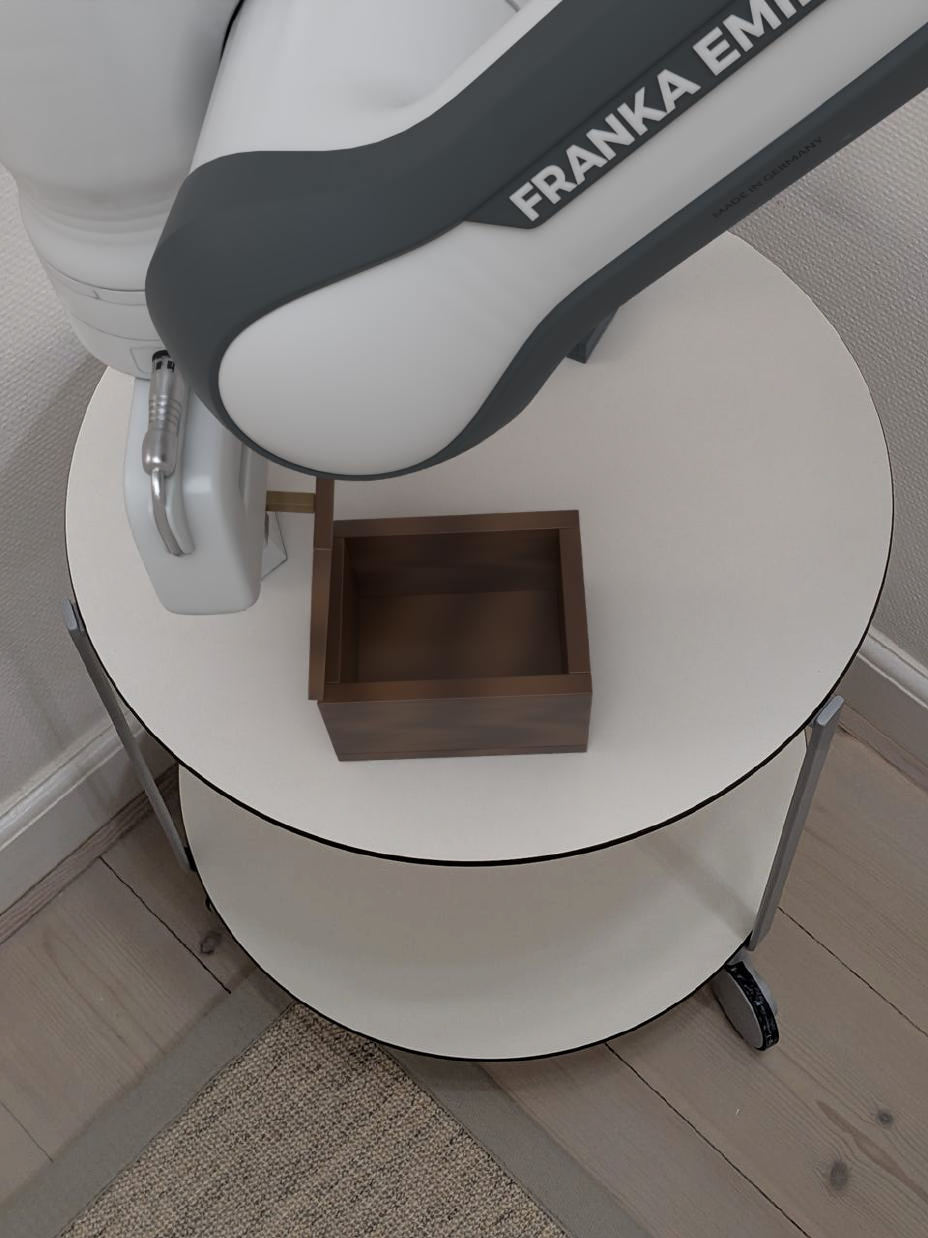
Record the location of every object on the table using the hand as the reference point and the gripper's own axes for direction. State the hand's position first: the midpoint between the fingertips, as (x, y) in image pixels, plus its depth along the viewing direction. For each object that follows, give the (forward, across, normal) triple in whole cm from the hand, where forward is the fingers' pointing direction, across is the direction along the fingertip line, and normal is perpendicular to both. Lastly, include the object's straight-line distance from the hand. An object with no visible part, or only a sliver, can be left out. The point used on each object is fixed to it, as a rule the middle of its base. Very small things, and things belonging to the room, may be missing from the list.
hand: (254, 476), depth 56 cm
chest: (+21, 0, -8) cm, 22 cm away
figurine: (+21, +9, +6) cm, 24 cm away
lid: (+5, 0, -3) cm, 6 cm away
